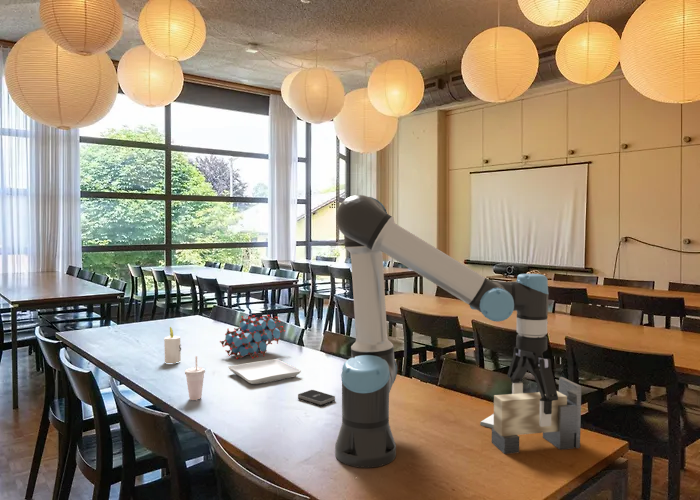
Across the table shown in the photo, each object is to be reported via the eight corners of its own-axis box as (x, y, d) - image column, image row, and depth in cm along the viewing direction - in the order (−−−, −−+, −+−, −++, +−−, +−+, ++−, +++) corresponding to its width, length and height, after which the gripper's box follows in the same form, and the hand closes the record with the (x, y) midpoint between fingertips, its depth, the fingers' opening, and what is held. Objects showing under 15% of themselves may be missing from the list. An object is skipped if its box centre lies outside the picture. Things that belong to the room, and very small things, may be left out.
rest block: (504, 453, 129) (504, 438, 128) (491, 442, 135) (491, 427, 135) (519, 452, 129) (519, 436, 129) (505, 441, 136) (505, 426, 136)
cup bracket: (559, 449, 131) (561, 387, 130) (542, 437, 139) (543, 378, 138) (580, 447, 132) (581, 386, 131) (562, 435, 140) (563, 377, 139)
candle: (178, 364, 212) (177, 328, 211) (162, 364, 212) (161, 328, 212) (183, 360, 218) (182, 325, 218) (168, 360, 219) (167, 325, 218)
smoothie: (209, 398, 170) (208, 356, 169) (191, 403, 165) (191, 360, 165) (199, 394, 174) (198, 353, 174) (181, 398, 170) (180, 356, 169)
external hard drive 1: (312, 395, 175) (312, 389, 175) (336, 402, 167) (336, 396, 167) (297, 400, 169) (297, 394, 169) (321, 408, 162) (321, 402, 162)
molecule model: (231, 343, 212) (274, 305, 226) (214, 338, 222) (255, 302, 236) (250, 372, 218) (289, 334, 233) (232, 366, 229) (271, 329, 243)
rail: (501, 436, 130) (502, 400, 129) (493, 429, 134) (494, 395, 133) (566, 430, 133) (567, 396, 133) (556, 424, 137) (557, 390, 137)
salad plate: (302, 378, 193) (302, 369, 193) (249, 389, 181) (249, 379, 181) (276, 366, 211) (276, 358, 210) (227, 375, 198) (227, 366, 198)
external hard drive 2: (480, 426, 147) (498, 414, 157) (507, 434, 142) (525, 421, 151) (480, 421, 147) (498, 409, 157) (507, 428, 142) (525, 415, 151)
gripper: (574, 344, 121) (573, 433, 122) (520, 324, 145) (519, 399, 146) (545, 346, 119) (544, 436, 120) (495, 325, 144) (494, 400, 145)
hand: (530, 415), depth 133 cm, fingers open, 13 cm apart
